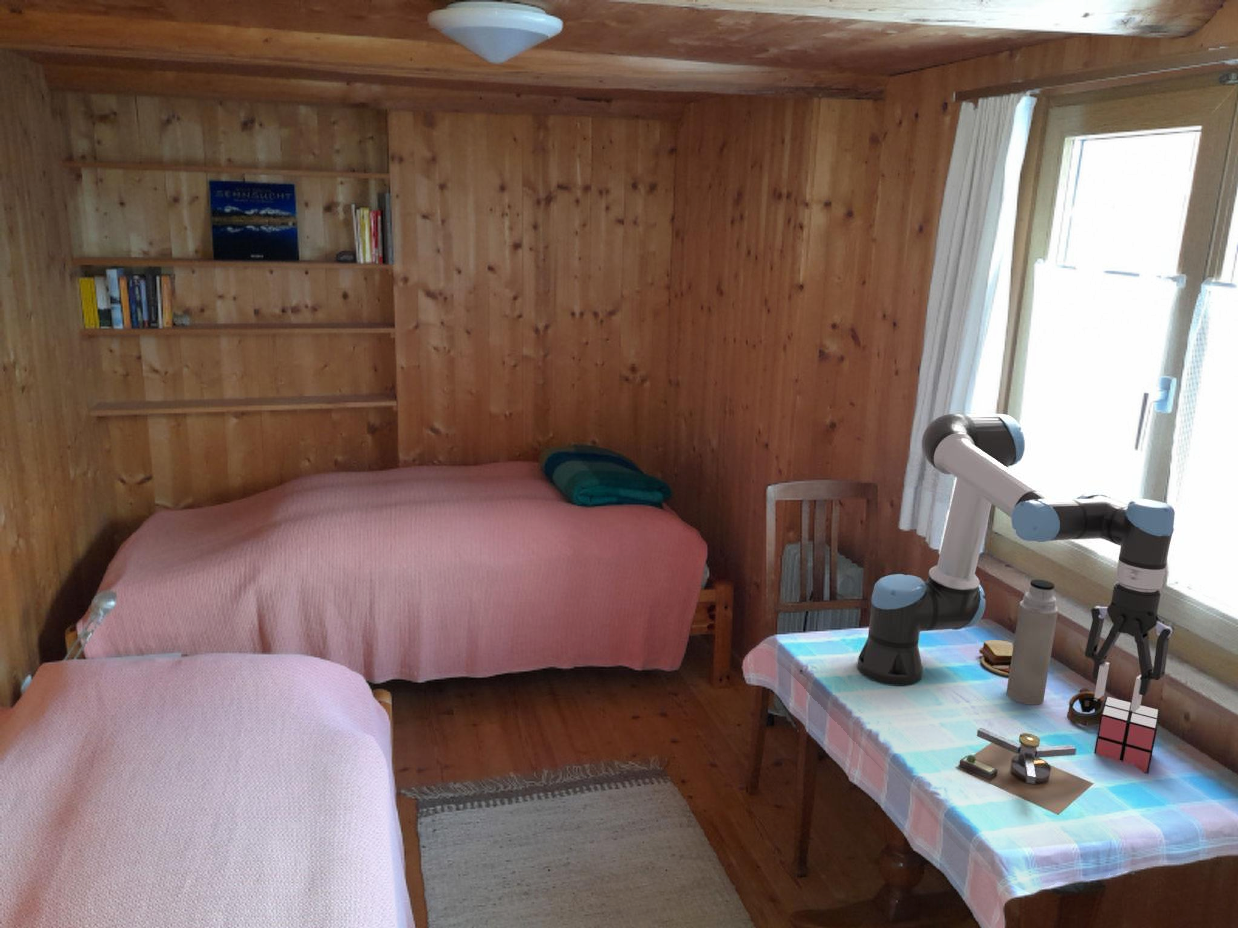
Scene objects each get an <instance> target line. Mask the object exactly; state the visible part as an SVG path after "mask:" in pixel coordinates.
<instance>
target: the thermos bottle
mask: <svg viewBox="0 0 1238 928" xmlns="http://www.w3.org/2000/svg"><path fill="white" fill-rule="evenodd" d="M1054 589H1055V583H1053V582H1051V581H1048V580H1045V579H1032V580H1030V586H1029V591H1027V592H1024V596H1023V597H1022V598H1023V600H1021V601H1020V602H1019V604H1018V605H1019V606H1018V612H1017V613H1018V614H1017V621H1016V627H1015V632H1014V640H1013V644H1012V645H1013V652H1012V659H1011V665H1010V672H1009V677H1008V679H1007V686H1006V695H1007V696H1008V698H1010V699H1011V700H1013V701H1015V702H1019V703H1021V704H1025V705H1026V704H1027V705H1040V704H1042V703H1043V702H1044V700H1045V694H1046V688H1047V682H1048V676H1049V669H1050V664H1051V663H1050V662H1051V657H1052V650H1053V645H1054V638H1055V631H1056V626H1057V619H1058V612H1059V608H1058V607H1057V605H1056V604H1057V599H1056V597H1055V596H1053V595H1054Z"/></svg>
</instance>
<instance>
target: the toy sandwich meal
mask: <svg viewBox="0 0 1238 928" xmlns="http://www.w3.org/2000/svg"><path fill="white" fill-rule="evenodd" d="M982 645H983V646H982V647H980V648H979V653H980V655H982V656H981V658H980V661H981V664H982V665H983V666H984V667H985V668H986V669H987V670H989V672H990V671H991V672H992V673H994V674H996V675H1000V676H1003V677H1008V678H1009V672H1010V665H1011V659H1012V652H1013V645H1014V644H1013V643H1012V642H1010V641H1006V640H1001V639H999V640H998V639H990V640H989V639H988V640H985V641H984V642H983V644H982Z"/></svg>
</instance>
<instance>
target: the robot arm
mask: <svg viewBox="0 0 1238 928" xmlns="http://www.w3.org/2000/svg"><path fill="white" fill-rule="evenodd" d="M1025 445H1026V443H1025V435H1024V432H1023V431H1022V427H1021V426H1020V424H1019V422H1017V420H1016V419H1015V418H1013V417H1012V416H1010V415H1008V414H1004V413H1003V414H1002V413H995V412H990V413H989V412H988V413H948V414H944V415H942V416H938V417H937V418H935V419H933V420H932V421H931V422H930V423H929V424H928V426H927V427H926V428H925V430H924V432H923V434H922V437H921V450H922V453H923V456H924V457H925V459H926V460H927V462H928V463H929V464H930V465H932V467H933V468H935V470H938V472H940V473H942V474H945V475H952V476H954V477H955V478H956V481H955V485H954V489H953V494H952V499H951V503H950V507H949V510H948V511H949V513H948V517H947V520H946V521H947V522H946V525H945V529H944V532H943V533H944V534H943V538H942V542H941V543H942V544H941V548H940V551H939V556H938V561H937V564H935V565H934V566H932V567H931V568H930V569H929V571H928V574H927V579H926V581H924V580H923V579H922V578H921V577H918V576H915V575H911V574H907V575H905V574H903V573H897V574H895V573H894V574H890V575H886V576H883V577H881V578H879V579H878V580H877V581H876V582H875V584H874V587H873V591H872V594H871V599H870V600H871V604H870V605H871V607H870V618H869V625H868V634H867V639H866V641H865V643H864V645H863V647H862V650H861V651H860V653H859V654H858V658H857V664H856V665H857V666H856V667H857V670H858V672H859V673H860V674H862V676H864V677H865V678H867V679H870V680H871V681H874V682H877V683H880V684H881V683H882V684H886V685H890V686H891V685H892V686H909V685H913V684H914V685H915V684H917V683H919V682H920V681H921V680H922V677H923V672H924V667H923V663H922V657H921V654H920V653H921V652H920V649H919V643H920V642H919V640H920V634H921V632H929V631H941V630H944V631H945V630H952V631H953V630H954V631H955V630H961V629H966V628H971V627H973V626H975V625H977V624H978V623H979V622H980V620H981V619H982V617H983V615H984V612H985V611H986V610H985V608H986V599H985V598H984V597H985V595H986V594H985V590H984V589H983V587H982V585H981V584H980V579H979V578H978V576H977V575H976V571H977V565H978V562H979V558H980V555H981V554H980V553H981V549H982V545H983V541H984V537H985V533H986V529H987V525H988V521H989V516H990V512H991V508H992V505H993V506H994V507H996V508H997V509H998V510H1000V511H1001V512H1003V513H1004V514H1005V515H1007V516H1008V517H1009V518H1011V527H1012V529H1013V530H1014V531H1015V534H1016V535H1017V537H1018V538H1020V539H1021V540H1023V541H1027V542H1037V543H1044V542H1053V541H1055V542H1056V541H1068V540H1089V539H1090V540H1091V539H1095V540H1096V539H1101V540H1105V541H1108V542H1110V543H1112V544H1115V545H1118V546H1120V548H1119V549H1120V550H1119V555H1118V561H1117V567H1116V574H1115V580H1116V582H1114V584H1113V590H1112V595H1111V600H1110V601H1111V602H1110V604H1109V605H1108V606H1102V605H1100V604H1098V605H1096V606H1094V607H1092V608H1091V610H1090V612H1091V619H1092V620H1091V625H1090V630H1089V633H1088V639H1087V643H1086V646H1085V647H1086V648H1085V652H1084V656H1085V657H1086V658H1089V659H1091V660H1092V661H1093V662H1094V665H1093V670H1092V679H1094V680H1096V685H1095V692H1094V693H1095V696H1094V698H1097V699H1099V698H1100V697H1103V696H1104V695H1105V691H1106V686H1107V680H1108V674H1109V670H1110V662H1108V661H1106V660H1107V659H1108V656H1109V655H1110V653H1111V651H1112V649H1113V648H1114V646H1115V645H1116V643H1117V640H1118V639H1119V637H1120V635H1121V634H1127V635H1130V636H1132V637H1134V642H1135V643H1136V648H1137V654H1138V655H1137V656H1138V664H1139V669H1140V674H1139V675H1138V676H1136V677H1135V683H1134V688H1133V692H1132V693H1133V694H1132V698H1131V702H1130V703H1131V709H1130V711H1133V712H1135V711H1136V710H1138V709H1139V708H1140V705H1141V704H1142V697H1143V696H1146V695H1148V694H1149V692H1150V688H1151V682H1152V680H1155V681H1159V680H1160V679H1161V678H1163V677H1165V673H1166V666H1167V657H1168V650H1169V649H1168V648H1169V643H1170V638H1171V636H1172V635H1173V633H1174V631H1175V628H1174V627H1173V626H1172V625H1166V624H1164V623H1162V621H1160V618H1159V617H1158V616H1159V615H1158V610H1159V605H1160V599H1161V595H1162V592H1161V590H1160V589H1162V588H1163V585H1164V578H1165V572H1166V566H1167V560H1168V555H1169V550H1170V545H1171V541H1172V537H1173V534H1174V531H1175V530H1174V525H1175V514H1176V513H1175V512H1176V511H1175V509H1174V508H1173V506H1172V505H1170V504H1169V503H1165V502H1163V501H1157V500H1154V499H1149V498H1137V499H1135V498H1134V499H1132V500H1130V501H1129V502H1128V504H1126V503H1123V502H1121V501H1119V500H1116V499H1114V498H1111V497H1110V496H1107V495H1104V494H1098V493H1094V492H1086V493H1083V494H1082V495H1080V496H1077V498H1069V499H1068V498H1067V499H1066V498H1065V499H1056V498H1053V497H1052V496H1050V495H1049V494H1047V493H1045V492H1044V491H1043V490H1041V489H1039V488H1038V487H1037V486H1035V485H1033V484H1032V483H1030V482H1029V481H1027V480H1026V479H1024V478H1023V477H1021V476H1020V475H1018V474H1017V473H1016V472H1014V471H1013V470H1012V469H1010V468H1009V466H1010V467H1011V466H1015V465H1016V464H1018V463H1019V462H1021V460H1022V458H1023V457H1024V454H1025V450H1026V449H1025V448H1026V446H1025ZM1107 615H1108V616H1109V618H1110V621H1111V623H1112V624H1113V625H1112V626H1111V628H1110V630H1109V633H1108V634H1107V636H1106V638H1105V640H1104V642H1103V644H1102V645H1101V647H1100V648H1099V650H1098V647H1099V643H1100V639H1101V635H1102V630H1103V626H1104V621H1105V618H1107ZM1154 628H1155V629H1156V636H1158V637H1157V639H1156V640H1157V641H1156V647H1155V652H1154V653H1155V655H1154V663H1152V656H1151V651H1150V649H1151V648H1150V642H1149V640H1150V634H1149V631H1151V630H1152V629H1154ZM1097 699H1096V700H1097Z"/></svg>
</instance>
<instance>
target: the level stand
mask: <svg viewBox="0 0 1238 928" xmlns="http://www.w3.org/2000/svg"><path fill="white" fill-rule="evenodd" d="M1015 755H1019V754H1016V753H1014V752H1012V751H1009V750H1007V749H1005V748H1003V747H1000V746H998V745H996V744H994V743H991V742H989V744H987V745H986V746H985V747H983V748H981V749H980V750H978V751H977V752H975V754H969V755H965V756H964V757H963V758H961V759H959V764H958V765H957V766H955V769H957V770H959V771H962V772H963V773H966V774H968V775H971V776H973V777H975V778H977V779H979V780H981V781H983V782H986V783H988V784H990V785H992V786H995V787H997V788H999V789H1001V790H1003V791H1006V792H1007V793H1009V794H1011V795H1014V796H1016V797H1019V798H1021V799H1023V800H1025V801H1027V802H1029V803H1032V804H1034V805H1035V806H1038V807H1040V808H1042V809H1045V810H1046V811H1049V812H1051V813H1053V814H1056V815H1060V814H1061V813H1062V812H1063V811H1064V810H1066V809H1067V808H1068V806H1071V804H1072V803H1074V802H1075V801H1076V800H1077V799H1079V797H1080V796H1081V795H1082V794H1084V793H1085V792H1086V791H1087V790H1088V789H1089V788H1090V787H1092V786H1093V784H1094V783H1093V782H1091V781H1089V780H1087V779H1085V778H1081V777H1080V776H1077V775H1075V774H1073V773H1069V771H1066V770H1063V769H1061V768H1058V767H1055V766H1053V765H1051V764H1049V765H1050V767H1051V771H1050V777H1049V781H1048V782H1047V783H1044V784H1032V783H1027V782H1024V781H1022V780H1020V779H1018V778H1016V777H1015V776H1014V775H1013V774H1012V773H1011V771H1010V767H1011V761H1012V757H1013V756H1015Z"/></svg>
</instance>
